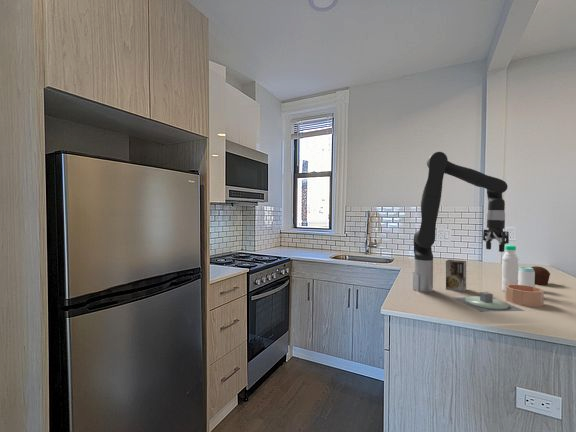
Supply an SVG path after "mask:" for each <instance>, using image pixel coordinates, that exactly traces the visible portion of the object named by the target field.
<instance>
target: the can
mask: <svg viewBox="0 0 576 432" xmlns="http://www.w3.org/2000/svg"><path fill="white" fill-rule="evenodd" d="M518 285H526V286H532V287H536V286H535V285H536V284H535V271H534V270H533V268H531V267H528V266H520V267H519V268H518Z"/></svg>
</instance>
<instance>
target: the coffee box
mask: <svg viewBox="0 0 576 432" xmlns="http://www.w3.org/2000/svg"><path fill="white" fill-rule="evenodd" d="M445 290H448V291H459V292H465V291H467V261H466V260H457V259H447V260H445Z"/></svg>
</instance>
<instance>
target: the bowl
mask: <svg viewBox="0 0 576 432" xmlns="http://www.w3.org/2000/svg"><path fill="white" fill-rule="evenodd" d="M544 298H545V290H543V289H542V288H540V287H536V286H535V287H532V286H526V285H517V284H508V285H505V291H504V299H505V300H504V301H505V302H507V303H508V302H509V303H511V304H514V305H519V306H522V307H523V306H526V307H532V308H533V307H534V308H535V307H536V308H537V307H539V308H540V307H544V306H545V305H544V304H545V302H544V301H545V299H544Z"/></svg>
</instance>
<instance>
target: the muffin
mask: <svg viewBox="0 0 576 432" xmlns="http://www.w3.org/2000/svg"><path fill="white" fill-rule="evenodd" d="M530 268H533V270H534V271H535V285H537V286H548V285H549V284H548V283H549V281H550V276H551V272H550V271H549V270H548V269H546V268H544V267H543V266H530Z"/></svg>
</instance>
